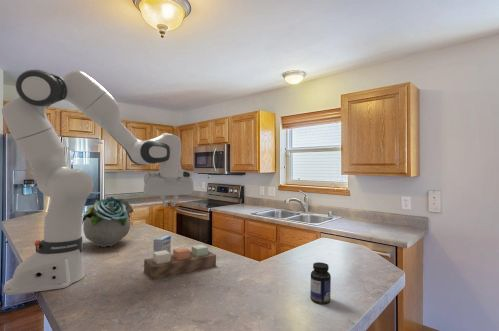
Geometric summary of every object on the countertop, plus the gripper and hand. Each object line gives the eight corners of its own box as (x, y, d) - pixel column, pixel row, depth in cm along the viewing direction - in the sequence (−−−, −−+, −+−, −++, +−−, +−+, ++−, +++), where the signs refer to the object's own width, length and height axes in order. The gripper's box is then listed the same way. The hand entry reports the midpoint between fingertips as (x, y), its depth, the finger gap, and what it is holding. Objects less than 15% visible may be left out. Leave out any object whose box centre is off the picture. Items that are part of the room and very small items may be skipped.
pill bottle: (326, 295, 90) (327, 261, 91) (333, 304, 84) (333, 268, 84) (308, 295, 90) (308, 261, 90) (312, 304, 84) (313, 268, 84)
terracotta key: (177, 263, 108) (178, 252, 108) (172, 260, 112) (173, 249, 112) (189, 261, 111) (190, 250, 111) (184, 258, 115) (184, 247, 115)
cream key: (157, 267, 103) (157, 255, 103) (152, 264, 107) (153, 252, 107) (170, 265, 106) (170, 253, 106) (165, 261, 110) (165, 250, 110)
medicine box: (162, 259, 122) (162, 239, 122) (152, 258, 123) (153, 238, 123) (170, 254, 129) (171, 235, 130) (161, 253, 130) (162, 234, 130)
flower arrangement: (141, 239, 154) (142, 195, 154) (118, 253, 129) (120, 200, 129) (96, 238, 154) (97, 194, 154) (65, 251, 129) (67, 198, 129)
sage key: (196, 260, 113) (197, 249, 113) (191, 256, 117) (191, 246, 117) (207, 258, 116) (207, 247, 116) (202, 255, 120) (202, 244, 120)
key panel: (152, 279, 100) (152, 267, 100) (143, 271, 108) (144, 259, 108) (215, 266, 115) (216, 255, 115) (204, 259, 123) (204, 249, 123)
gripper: (146, 172, 107) (145, 209, 107) (195, 173, 119) (194, 205, 119) (141, 172, 112) (140, 206, 112) (189, 173, 124) (188, 204, 124)
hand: (168, 206), depth 115 cm, fingers closed
